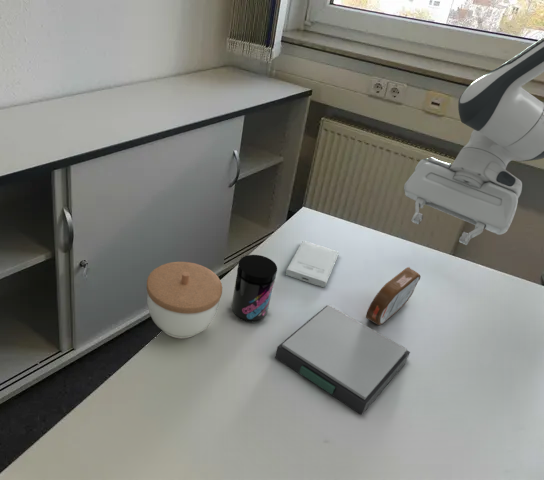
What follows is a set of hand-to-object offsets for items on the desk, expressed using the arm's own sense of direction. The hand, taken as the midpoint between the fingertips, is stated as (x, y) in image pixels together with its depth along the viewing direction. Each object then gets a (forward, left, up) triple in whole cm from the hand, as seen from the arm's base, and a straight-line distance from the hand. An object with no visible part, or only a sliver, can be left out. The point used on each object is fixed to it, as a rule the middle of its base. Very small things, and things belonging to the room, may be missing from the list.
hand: (438, 232), depth 105 cm
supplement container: (+18, +34, -13) cm, 41 cm away
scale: (0, +32, -12) cm, 35 cm away
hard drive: (+18, +12, -13) cm, 25 cm away
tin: (0, +14, -13) cm, 19 cm away
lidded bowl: (+24, +46, -13) cm, 54 cm away
